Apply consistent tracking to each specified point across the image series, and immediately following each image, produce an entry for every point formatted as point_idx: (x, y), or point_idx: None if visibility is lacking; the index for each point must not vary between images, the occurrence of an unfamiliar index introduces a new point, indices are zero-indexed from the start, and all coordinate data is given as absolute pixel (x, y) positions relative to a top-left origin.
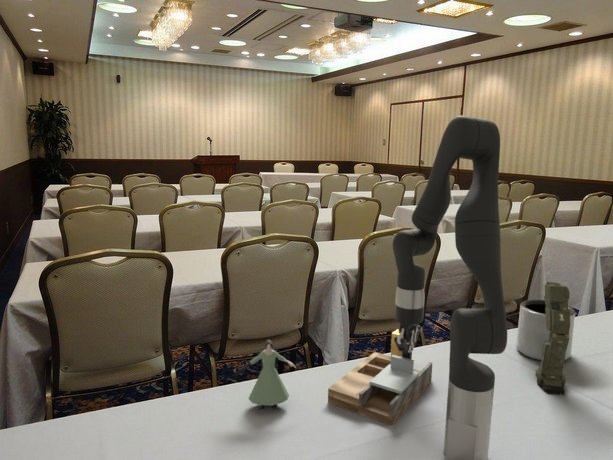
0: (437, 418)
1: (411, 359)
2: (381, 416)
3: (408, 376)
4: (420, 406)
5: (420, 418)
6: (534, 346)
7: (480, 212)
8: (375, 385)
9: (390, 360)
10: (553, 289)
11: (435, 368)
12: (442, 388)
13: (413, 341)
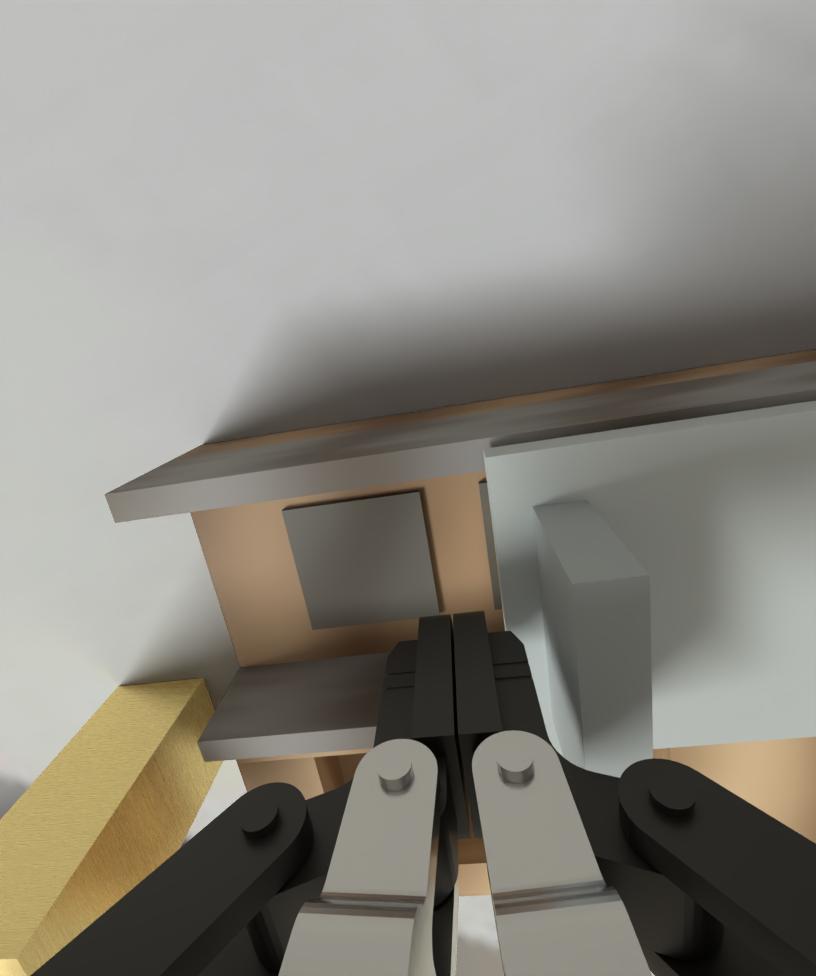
0: (716, 72)
1: (419, 642)
2: None
3: (660, 496)
4: (616, 299)
5: (799, 193)
6: None
7: None
8: None
9: (313, 777)
10: None
11: (18, 516)
12: (234, 317)
13: (415, 952)
